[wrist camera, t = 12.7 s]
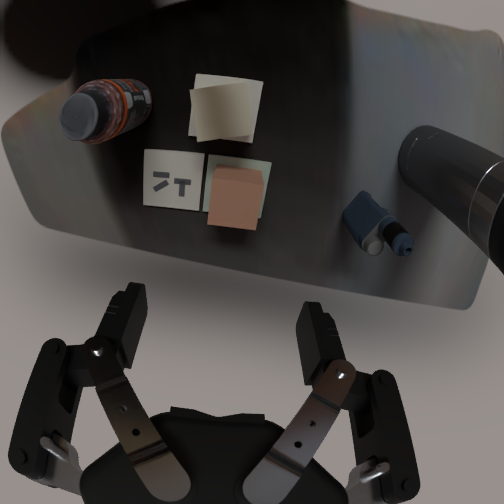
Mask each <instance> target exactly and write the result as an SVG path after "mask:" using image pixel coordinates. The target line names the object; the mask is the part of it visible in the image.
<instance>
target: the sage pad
mask: <svg viewBox="0 0 504 504" xmlns="http://www.w3.org/2000/svg"><path fill="white" fill-rule="evenodd" d="M217 164H219V165H227V166H235V167H242V168H249V169H256V170H261V172H262V176H263V181H264V190H263V195H262V200H261V205H260V210H259V215H258V218H261V213H262V208H263V203H264V198H265V193H266V189H267V184H268V179H269V174H270V169H271V162H264V161H258V160H251V159H244V158H237V157H229V156H221V155H213V154H209V158H208V166H207V175H206V184H205V194H204V204H203V211H206V212H209V204H210V195H211V186H212V178H213V175H214V171H215V168H216V165H217Z"/></svg>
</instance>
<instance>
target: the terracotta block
mask: <svg viewBox="0 0 504 504" xmlns="http://www.w3.org/2000/svg"><path fill="white" fill-rule="evenodd" d="M263 190H264V181H263V176H262V172H261V170H256V169H249V168H242V167H235V166H227V165H219V164H217V165H216V168H215V171H214V175H213V178H212V186H211V195H210V204H209V214H208V224H209V225H217V226H226V227H234V228H242V229H250V230H256V226H257V221H258V215H259V210H260V205H261V200H262V195H263Z"/></svg>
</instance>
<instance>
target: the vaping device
mask: <svg viewBox="0 0 504 504" xmlns="http://www.w3.org/2000/svg"><path fill="white" fill-rule="evenodd" d="M343 221H344V223H345V225H346V226H347V228H348V229H349V231H350V233H351V234H352V236H353V237H354V239H355V241H356V242H357V244H358V245H359V247H360V248H361V249H363V250H364V251H366V252H368V254H369V255H371V256H376V255H378V254H380V253H381V252H382V250H383V247H384V244H383V243H384V242H385V241H386V242H387V243H388V245H389V246H390V247H391V249H392V250H393V251H394V253H395V254H396V255H398V256H404V255H405V256H409V255H410V254H411V253H412V251H413V245H414V240H413V238H412V237H411V236H410V235H409V233H408V232H407V231H406V230H405V229H404V228H403V227H402V226H401V225H400V223H399V222H398V221H397V220H396V218H395V217H394V216H393V215H392V213H391V212H389V211H388V210H387V209H384V208H381V207H380V206H379V205H378V204H377V203H376V202H375V201H374V200H373V199H372V197H371V196H370V194H369V193H367V192H364V191H361V192H360V193H359V194H358V195H357V196H356V197H355V199H354V200H353V201H352V202H351V203H350V204H349V206H348V207H347V208H346V209H345V210H344V212H343Z"/></svg>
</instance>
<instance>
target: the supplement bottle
mask: <svg viewBox="0 0 504 504" xmlns="http://www.w3.org/2000/svg"><path fill="white" fill-rule="evenodd" d="M151 108H152V96H151V93H150V91H149V89H148V87H147V86H146V85H145V84H143V83H142V82H140V81H138V80H134V79H104V80H94V81H90V82H88V83H86V84H84V85H83V86H81V87H80V88H79V89H78V90H77V91H76V92H75V93H74V94H73V95H72V96H70V97H69V98H68V99H67V100H66V101H65V102H64V103H63V105H62V107H61V110H60V115H59V124H60V128H61V130H62V132H63V134H64V135H65V136H66V137H67V138H68V139H70V140H73V141H81V142H84V143H87V144H99V143H102V142H105V141H107V140H109V139H111V138H113V137H116V136H118V135H120V134H122V133H124V132H126V131H128V130H131V129H133V128H135V127H137V126H139V125H140V124H142V123H143V122H144V121H145V120H146V119H147V117H148V115H149V114H150V111H151Z"/></svg>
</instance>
